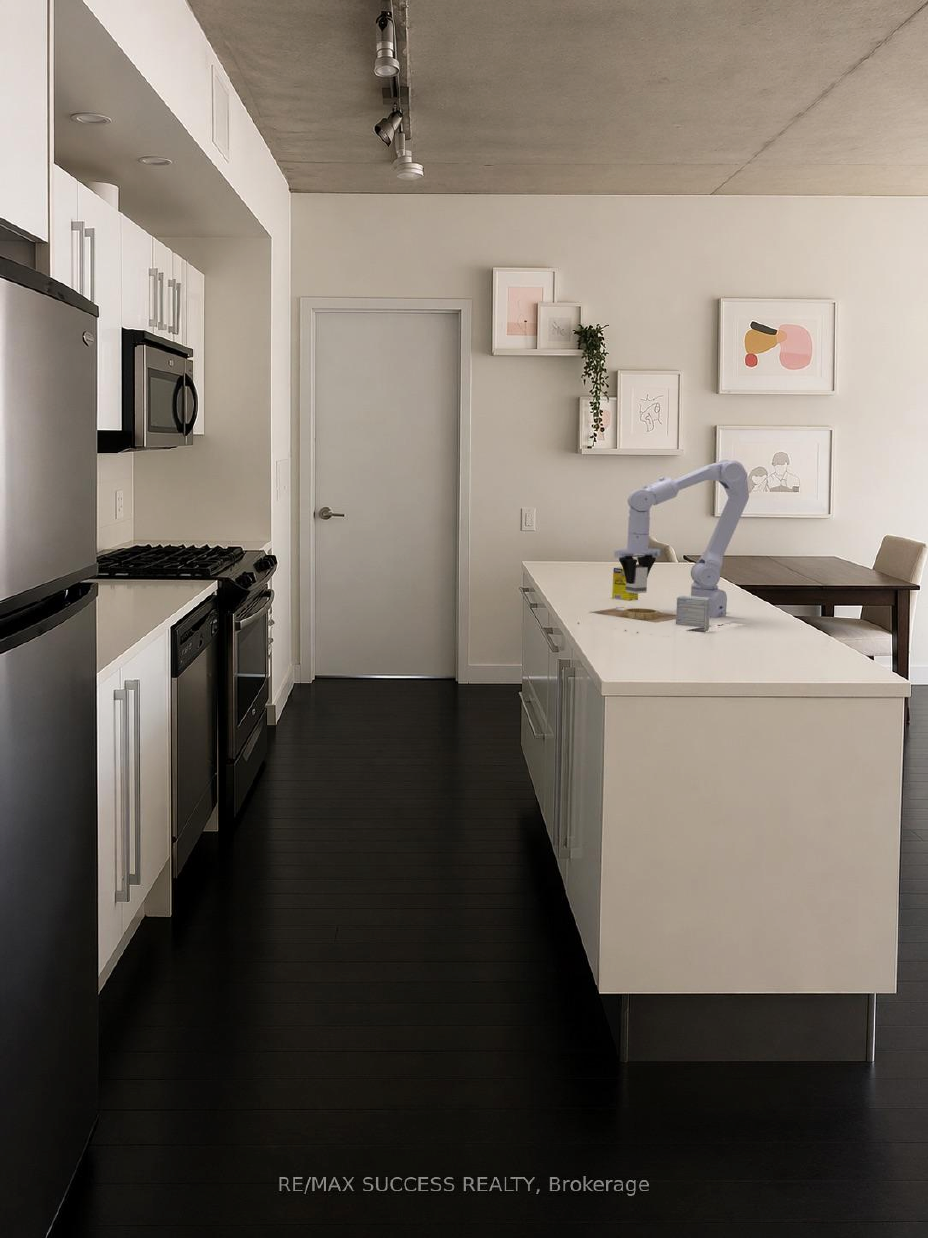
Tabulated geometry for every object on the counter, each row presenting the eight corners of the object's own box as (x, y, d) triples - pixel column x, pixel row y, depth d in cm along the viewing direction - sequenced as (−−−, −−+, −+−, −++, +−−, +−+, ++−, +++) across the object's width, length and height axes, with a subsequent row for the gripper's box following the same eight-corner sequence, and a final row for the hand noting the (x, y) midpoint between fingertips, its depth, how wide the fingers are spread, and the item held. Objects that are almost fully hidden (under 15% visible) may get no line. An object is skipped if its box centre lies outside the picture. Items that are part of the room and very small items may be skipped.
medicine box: (709, 630, 296) (711, 597, 295) (705, 632, 292) (707, 599, 291) (679, 627, 300) (681, 595, 298) (674, 630, 296) (676, 597, 294)
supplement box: (628, 605, 338) (630, 569, 336) (611, 603, 341) (612, 567, 340) (638, 603, 342) (640, 567, 341) (621, 601, 346) (622, 565, 344)
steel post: (637, 590, 316) (638, 563, 314) (646, 592, 312) (647, 565, 311) (625, 591, 314) (626, 564, 312) (634, 593, 310) (636, 566, 309)
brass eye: (665, 617, 307) (665, 611, 307) (645, 620, 300) (646, 614, 300) (637, 613, 313) (637, 607, 313) (617, 616, 306) (617, 610, 306)
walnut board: (688, 621, 309) (689, 616, 309) (655, 627, 298) (655, 622, 298) (622, 612, 324) (622, 606, 324) (588, 617, 313) (588, 612, 312)
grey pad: (649, 611, 317) (649, 609, 317) (635, 613, 312) (635, 612, 312) (629, 608, 322) (629, 606, 322) (614, 610, 317) (614, 609, 317)
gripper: (626, 535, 303) (624, 585, 306) (668, 534, 311) (666, 583, 313) (610, 533, 309) (608, 582, 312) (652, 532, 317) (649, 580, 319)
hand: (636, 583), depth 313 cm, fingers closed on steel post, 4 cm apart
